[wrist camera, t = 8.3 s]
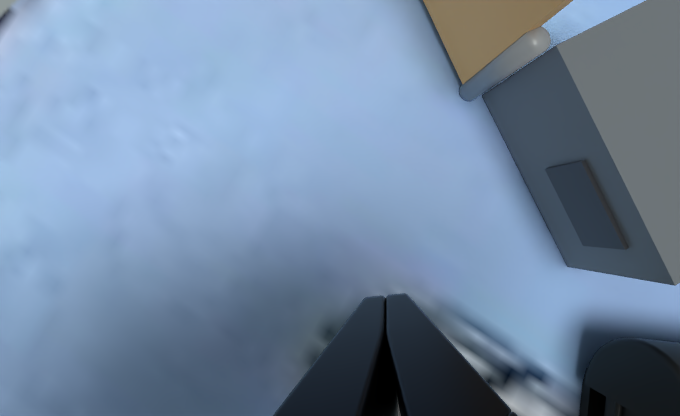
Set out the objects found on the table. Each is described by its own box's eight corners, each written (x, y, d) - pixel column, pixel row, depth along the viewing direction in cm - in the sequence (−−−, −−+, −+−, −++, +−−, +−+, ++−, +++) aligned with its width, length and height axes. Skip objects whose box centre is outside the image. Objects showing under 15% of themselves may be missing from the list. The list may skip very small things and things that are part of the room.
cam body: (564, 268, 21) (691, 291, 14) (478, 97, 21) (566, 37, 14) (651, 218, 22) (814, 218, 15) (569, 51, 21) (695, -27, 15)
